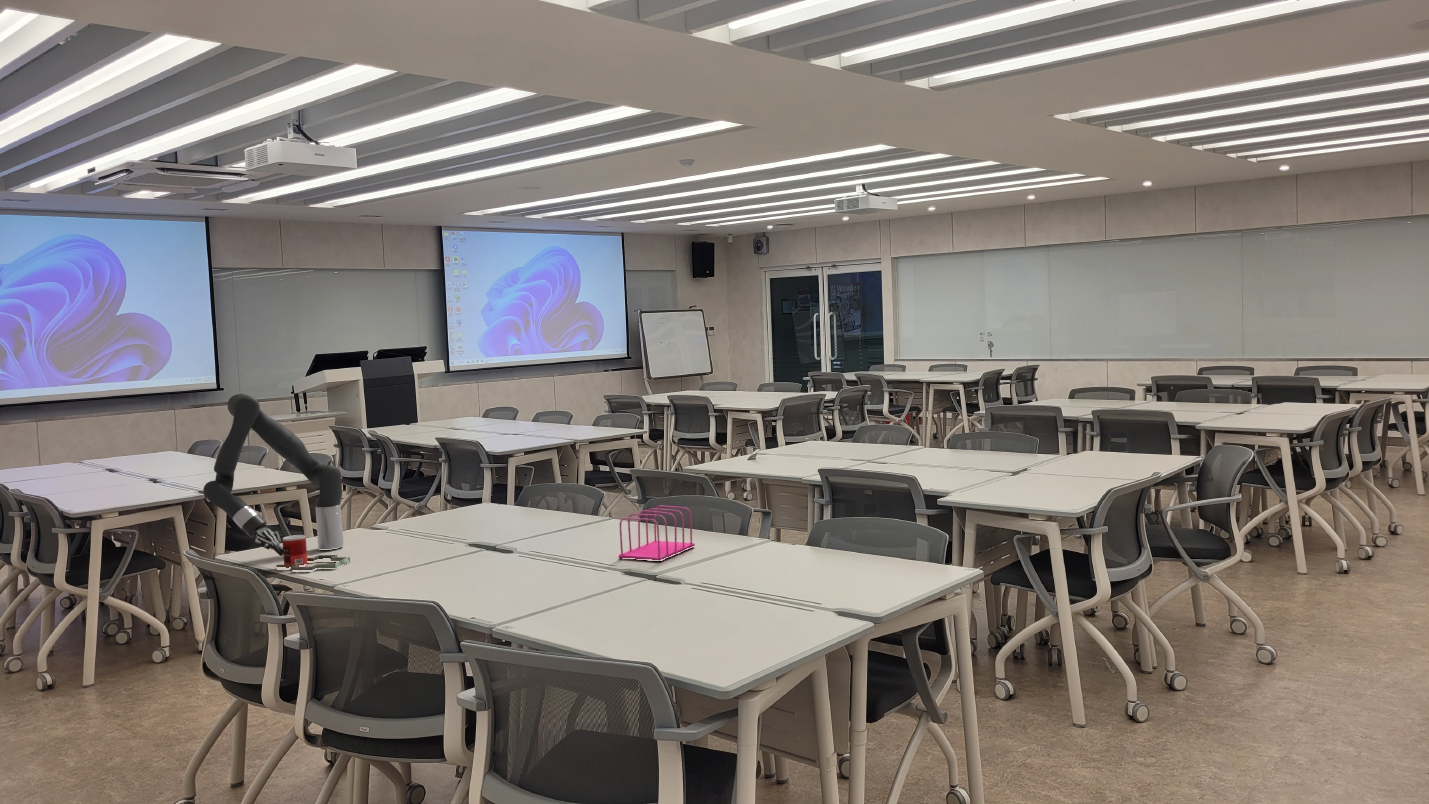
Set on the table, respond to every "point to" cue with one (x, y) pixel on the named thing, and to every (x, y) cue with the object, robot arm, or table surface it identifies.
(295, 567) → the trap track
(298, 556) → the canned food
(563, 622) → the table surface
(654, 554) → the file sorter
